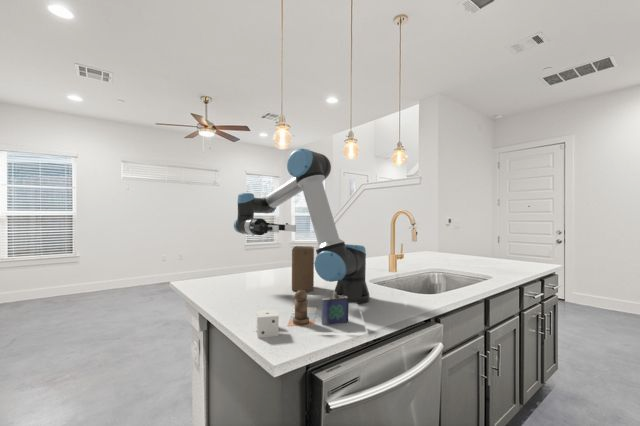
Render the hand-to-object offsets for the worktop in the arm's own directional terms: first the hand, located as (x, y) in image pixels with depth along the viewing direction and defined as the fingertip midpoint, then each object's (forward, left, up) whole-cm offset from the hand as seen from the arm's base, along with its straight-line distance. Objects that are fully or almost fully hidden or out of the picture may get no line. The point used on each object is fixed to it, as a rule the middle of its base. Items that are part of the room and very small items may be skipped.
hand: (286, 228), depth 120 cm
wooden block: (-5, -24, -30) cm, 39 cm away
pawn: (-8, +22, -29) cm, 38 cm away
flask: (-19, +22, -30) cm, 42 cm away
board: (-8, +16, -30) cm, 35 cm away
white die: (+2, +29, -30) cm, 42 cm away
